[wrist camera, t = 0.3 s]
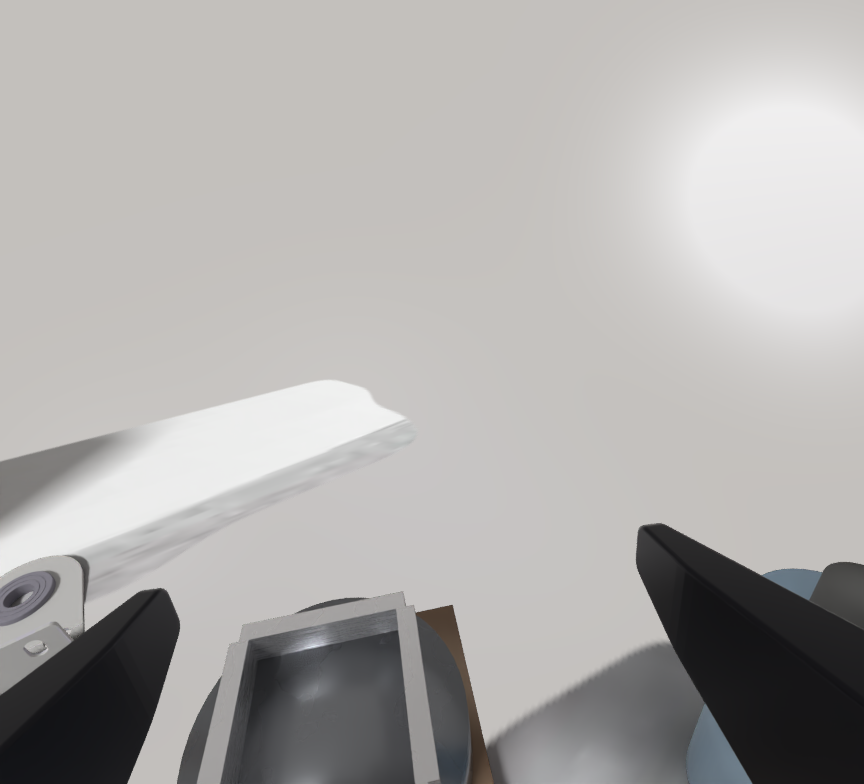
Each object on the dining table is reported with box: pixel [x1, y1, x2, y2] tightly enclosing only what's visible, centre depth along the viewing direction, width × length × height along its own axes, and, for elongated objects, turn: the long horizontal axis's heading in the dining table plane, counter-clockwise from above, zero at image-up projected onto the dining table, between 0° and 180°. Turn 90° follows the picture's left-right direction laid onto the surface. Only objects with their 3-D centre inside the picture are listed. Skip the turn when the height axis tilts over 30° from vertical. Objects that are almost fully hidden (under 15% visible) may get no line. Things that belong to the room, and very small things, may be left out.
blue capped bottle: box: [686, 562, 864, 784], centre depth 15 cm, size 5×5×12 cm
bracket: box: [0, 556, 85, 695], centre depth 27 cm, size 7×10×4 cm, turn 34°
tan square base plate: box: [177, 592, 494, 784], centre depth 18 cm, size 12×12×6 cm
